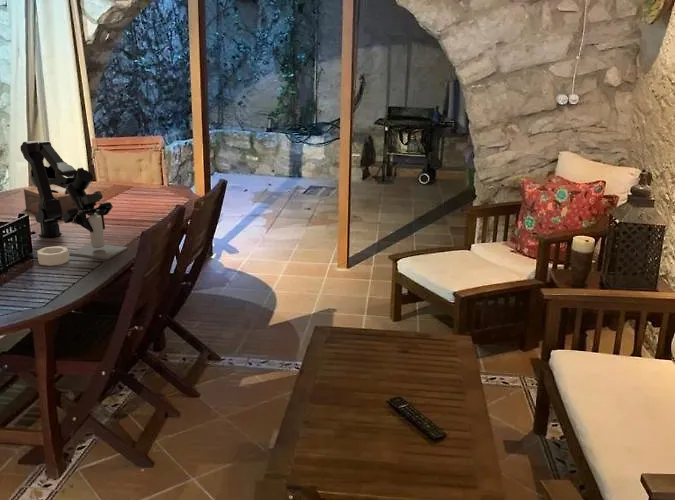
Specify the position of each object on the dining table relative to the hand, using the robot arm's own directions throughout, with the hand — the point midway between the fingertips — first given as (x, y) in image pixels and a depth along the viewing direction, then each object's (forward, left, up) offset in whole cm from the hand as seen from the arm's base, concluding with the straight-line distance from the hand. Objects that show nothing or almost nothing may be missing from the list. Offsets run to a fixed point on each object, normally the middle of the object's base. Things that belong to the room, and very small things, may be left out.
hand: (98, 230), depth 257 cm
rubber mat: (-1, +1, -9) cm, 9 cm away
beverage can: (-1, +1, -7) cm, 7 cm away
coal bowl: (-79, +77, -9) cm, 111 cm away
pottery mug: (-35, +41, -9) cm, 54 cm away
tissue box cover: (-56, +47, -10) cm, 74 cm away
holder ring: (-10, -14, -9) cm, 19 cm away
